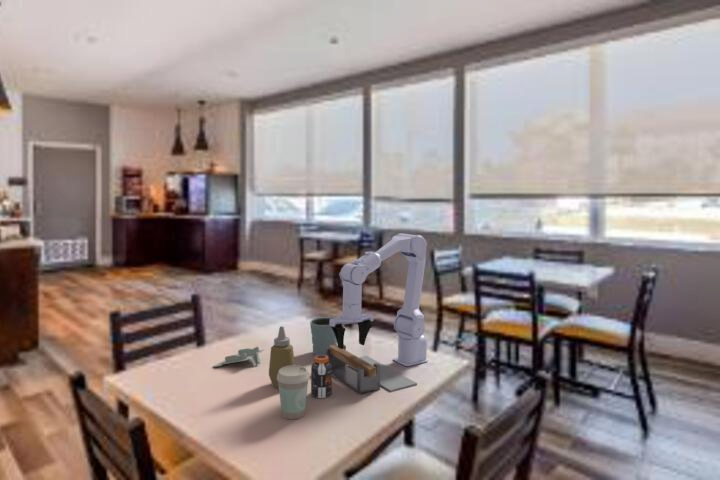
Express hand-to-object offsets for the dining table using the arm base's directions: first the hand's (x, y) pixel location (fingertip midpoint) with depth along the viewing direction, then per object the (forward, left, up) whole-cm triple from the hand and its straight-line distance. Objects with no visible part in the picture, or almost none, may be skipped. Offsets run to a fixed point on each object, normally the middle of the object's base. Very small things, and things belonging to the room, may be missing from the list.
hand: (351, 346), depth 148 cm
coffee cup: (+25, +12, -11) cm, 30 cm away
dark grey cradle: (0, 0, -11) cm, 11 cm away
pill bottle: (+13, +5, -11) cm, 18 cm away
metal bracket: (+24, -32, -11) cm, 41 cm away
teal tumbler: (-4, -25, -11) cm, 27 cm away
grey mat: (-10, 0, -11) cm, 15 cm away
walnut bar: (0, 0, -6) cm, 6 cm away
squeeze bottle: (+20, -7, -11) cm, 24 cm away
